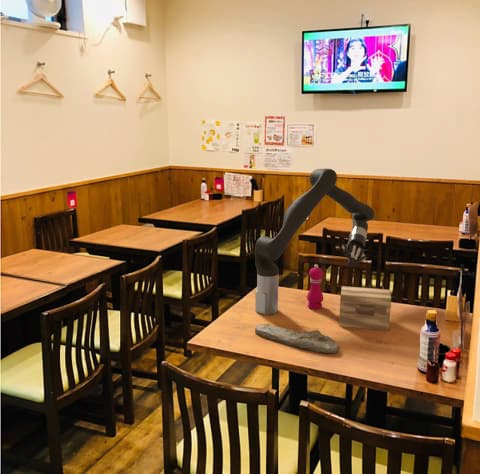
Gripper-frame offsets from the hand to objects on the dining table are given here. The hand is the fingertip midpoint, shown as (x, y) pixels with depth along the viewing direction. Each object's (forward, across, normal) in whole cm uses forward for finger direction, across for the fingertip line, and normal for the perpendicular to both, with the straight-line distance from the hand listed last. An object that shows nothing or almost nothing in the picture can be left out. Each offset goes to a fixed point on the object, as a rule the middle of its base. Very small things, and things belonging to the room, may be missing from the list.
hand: (350, 266), depth 224 cm
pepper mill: (+15, -4, +19) cm, 25 cm away
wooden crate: (+23, +12, +2) cm, 26 cm away
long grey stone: (+47, -13, +3) cm, 49 cm away
